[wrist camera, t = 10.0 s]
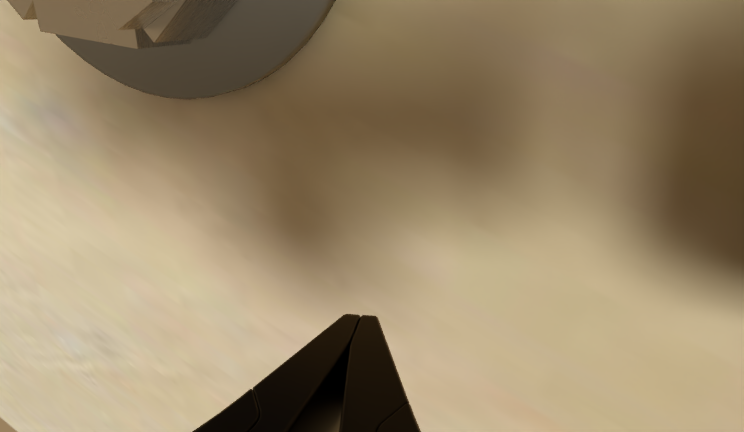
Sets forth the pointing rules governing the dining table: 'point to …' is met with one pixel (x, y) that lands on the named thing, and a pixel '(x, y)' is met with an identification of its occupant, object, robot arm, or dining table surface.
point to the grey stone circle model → (213, 51)
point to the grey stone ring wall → (127, 19)
